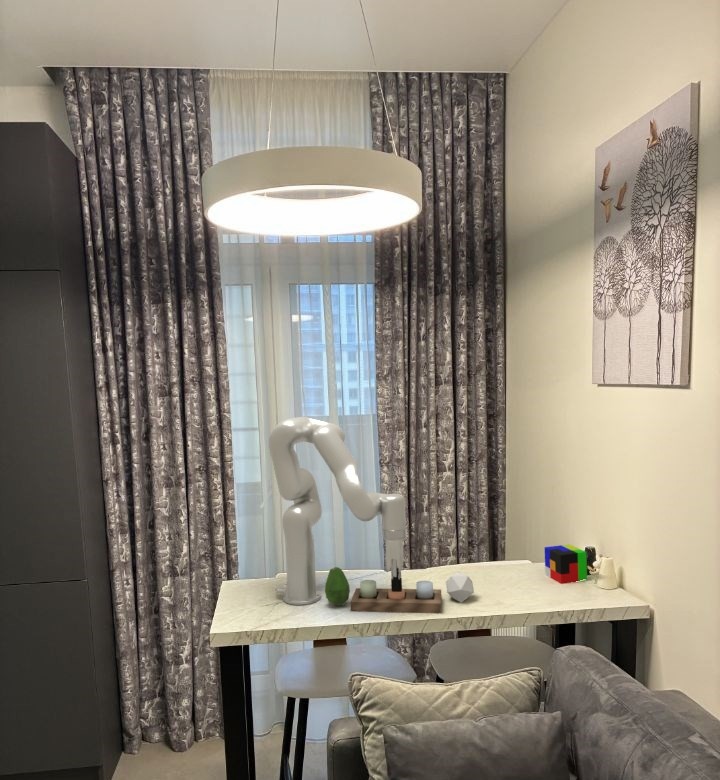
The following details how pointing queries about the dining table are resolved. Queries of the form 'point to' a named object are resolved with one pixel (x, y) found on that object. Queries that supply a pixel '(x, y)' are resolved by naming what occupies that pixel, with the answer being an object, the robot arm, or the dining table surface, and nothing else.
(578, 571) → the puzzle toy
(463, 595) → the die
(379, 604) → the board
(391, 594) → the button terracotta
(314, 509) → the robot arm
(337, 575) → the avocado
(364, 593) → the button sage
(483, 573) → the dining table surface
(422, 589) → the button blue
